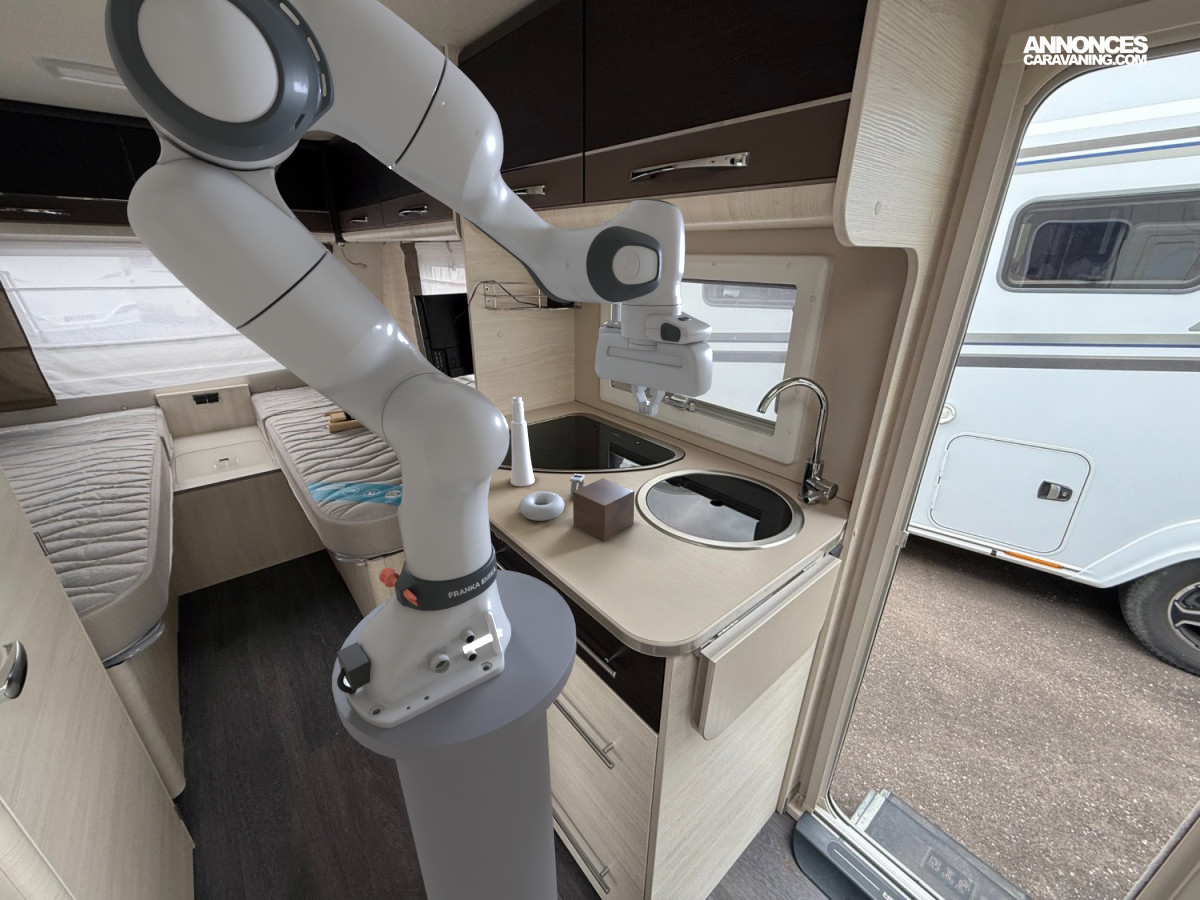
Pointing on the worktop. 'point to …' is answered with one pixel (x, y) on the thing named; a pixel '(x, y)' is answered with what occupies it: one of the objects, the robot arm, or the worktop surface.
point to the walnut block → (603, 508)
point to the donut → (541, 506)
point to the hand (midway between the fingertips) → (647, 413)
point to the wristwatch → (576, 479)
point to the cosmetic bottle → (520, 447)
